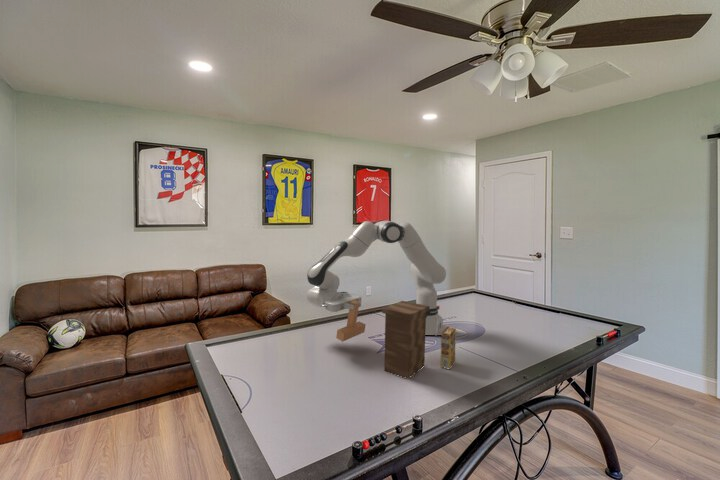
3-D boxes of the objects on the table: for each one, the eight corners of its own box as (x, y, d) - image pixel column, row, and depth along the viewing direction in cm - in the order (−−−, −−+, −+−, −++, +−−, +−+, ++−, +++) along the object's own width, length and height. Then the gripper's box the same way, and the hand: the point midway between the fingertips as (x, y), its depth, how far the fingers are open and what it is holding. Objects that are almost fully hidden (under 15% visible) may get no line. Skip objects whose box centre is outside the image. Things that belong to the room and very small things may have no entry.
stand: (400, 358, 149) (402, 300, 147) (427, 366, 141) (429, 305, 139) (380, 371, 136) (382, 308, 134) (409, 381, 128) (410, 314, 127)
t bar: (362, 297, 160) (369, 300, 158) (357, 329, 163) (364, 332, 160) (341, 304, 147) (347, 307, 145) (336, 338, 150) (342, 341, 148)
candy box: (449, 370, 138) (451, 333, 137) (439, 367, 140) (441, 332, 139) (455, 362, 146) (456, 327, 145) (445, 360, 148) (446, 326, 147)
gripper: (319, 298, 152) (342, 303, 144) (347, 291, 168) (370, 295, 160) (319, 312, 152) (342, 318, 144) (347, 303, 169) (369, 308, 160)
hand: (357, 306), depth 152 cm, fingers closed on t bar, 3 cm apart
